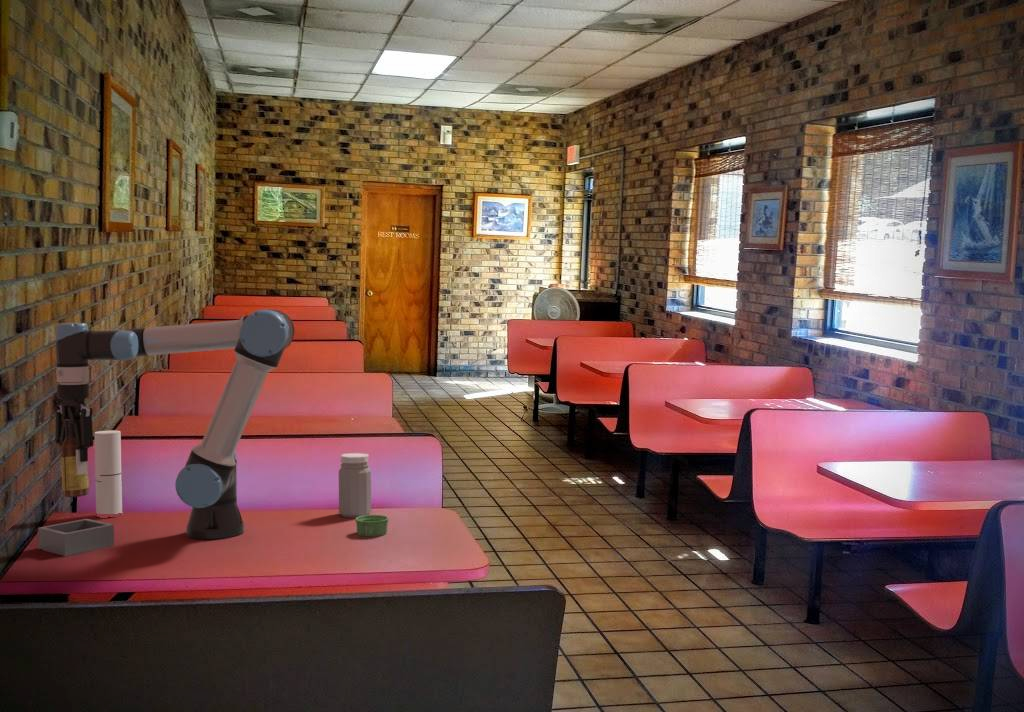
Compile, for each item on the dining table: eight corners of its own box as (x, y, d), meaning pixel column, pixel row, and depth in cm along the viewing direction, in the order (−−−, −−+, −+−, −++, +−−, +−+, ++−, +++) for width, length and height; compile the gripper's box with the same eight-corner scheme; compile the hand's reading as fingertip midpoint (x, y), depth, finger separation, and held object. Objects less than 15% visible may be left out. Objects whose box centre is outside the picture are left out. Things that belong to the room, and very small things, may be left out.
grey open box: (114, 545, 257) (113, 524, 256) (65, 556, 246) (64, 534, 245) (87, 539, 264) (86, 518, 263) (38, 549, 253) (37, 527, 253)
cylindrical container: (116, 518, 289) (114, 433, 288) (92, 518, 289) (90, 433, 288) (126, 513, 296) (124, 430, 295) (102, 513, 297) (100, 430, 295)
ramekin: (395, 533, 271) (395, 517, 271) (369, 539, 264) (369, 523, 264) (374, 528, 277) (374, 513, 277) (348, 534, 270) (348, 518, 270)
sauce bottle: (94, 494, 255) (93, 418, 254) (74, 498, 250) (73, 420, 249) (76, 492, 258) (74, 416, 257) (55, 496, 253) (54, 419, 251)
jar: (335, 512, 297) (334, 453, 296) (367, 510, 301) (366, 451, 300) (342, 519, 288) (342, 458, 287) (375, 516, 292) (375, 456, 291)
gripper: (38, 382, 255) (40, 471, 256) (79, 386, 244) (81, 478, 245) (66, 380, 261) (68, 467, 262) (107, 384, 250) (109, 474, 251)
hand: (74, 472), depth 254 cm, fingers closed on sauce bottle, 6 cm apart
